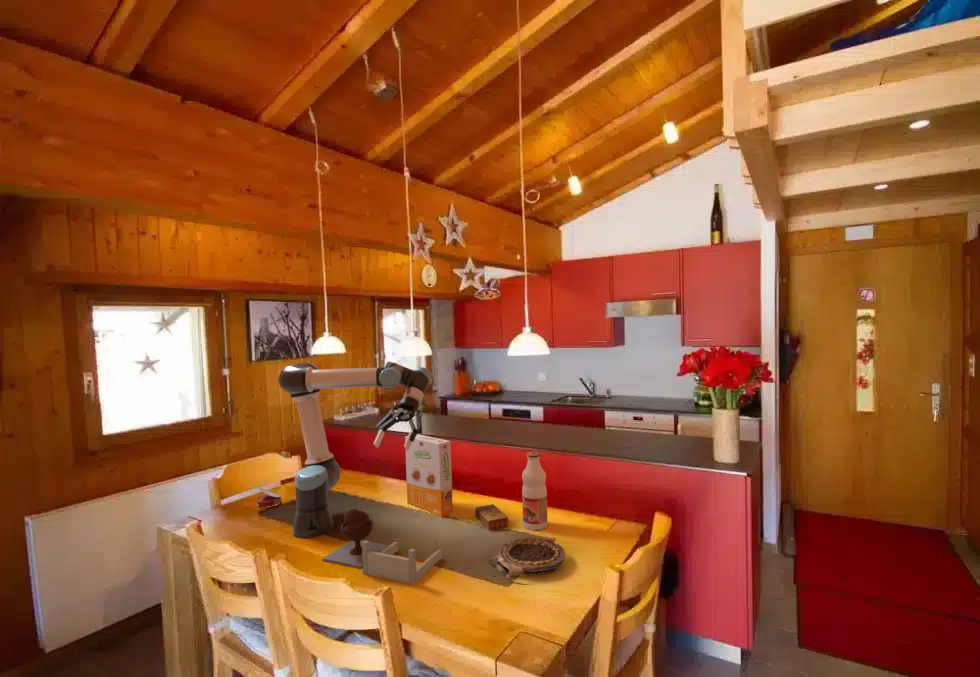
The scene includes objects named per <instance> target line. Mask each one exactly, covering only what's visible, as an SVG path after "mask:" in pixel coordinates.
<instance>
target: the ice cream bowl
mask: <svg viewBox="0 0 980 677" xmlns="http://www.w3.org/2000/svg"><path fill="white" fill-rule="evenodd" d="M343 521H344V522H343V523H341V526H340V528H339V529H340V532H341V534H342V535H343V537H345V538H346V539H348V540H349V541H354V542H355V547H354V548H353V549H351V551H350V554H351V555H361V554H362V546H360V541H361V540H364V539H365V538H367V537H368V536H369V535H370V534H371V532H372V529H373V526H374V520H372V519H370V517H369V515H368V514H367V513H366V512H365V511H363V510H359V509H357V508H351V509H348V510H347V511H346V512H345V513H344V516H343Z"/></svg>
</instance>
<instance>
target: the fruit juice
mask: <svg viewBox="0 0 980 677" xmlns="http://www.w3.org/2000/svg"><path fill="white" fill-rule="evenodd" d="M540 455H541V454H540V452H537V451H528V452H527V453H526V458H527V463H526V467H525V468H524V469H523V471H522V475H521V479H522V483H523V484H522V488H521V489H522V490H521V495H522V496H521V498H522V499H521V500H522V525H523V527H524V528H525V529H527V530H531V531H541V530H544V529H546V528H547V527H548V522H549V521H548V491H547V486H546V479H547V474H546V472H545V470H544V469H543V468H542V465H541V463H540V457H541V456H540Z"/></svg>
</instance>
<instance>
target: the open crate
mask: <svg viewBox="0 0 980 677" xmlns="http://www.w3.org/2000/svg"><path fill="white" fill-rule="evenodd" d="M369 542H370V540H363V542H362V560H363V568H362V574H363V575H369V576H374V577H379V578H383V579H387V580H393V581H395V582H396V581H397V582H402V583H406V584H409V585H413V586H414V585H415V584H416V583H417V582H418V581H419V580H420V579H421V578H422V577H423V576H425V575H426V572H427V571H428V570H429V569H430V568H431V567H432V566H433V565H434V564H435V563H436V564H438V563H439V562H440V561H441V560H442V559H441V558H443V557H442V555H443V554H442V549H440V548H438V549H437V550H435V551H434V553H432V554H431V555H430V556H428V557H427V559H425V560H424V561H423V562H421V563H420V565H418V566H417V555H416V554H417V552H416V549H414V548H410V549H409V550H407V555H408V556H407V557H404V556H399V555H395V554H396V553H398V552H399V542H398V541H394V542H392V543H391V544H389V545H390V546H388V547H387V548H386V549H384V550H383V551H381V552H380V553H378V552H373V551H370V550H369ZM395 552H396V553H395ZM394 553H395V554H394ZM440 559H441V560H440ZM439 560H440V561H439ZM438 561H439V562H438ZM437 562H438V563H437ZM436 564H435V565H436ZM435 565H434V566H435ZM434 566H433V567H434ZM433 567H432V568H433ZM432 568H431V569H432ZM431 569H430V570H431ZM430 570H429V571H430ZM429 571H428V572H429ZM428 572H427V573H428Z"/></svg>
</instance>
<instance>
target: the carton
mask: <svg viewBox="0 0 980 677" xmlns="http://www.w3.org/2000/svg"><path fill="white" fill-rule="evenodd" d="M474 511H475V512H474V516H475V518H476V517H477V518H478V519H479V520H480V521H479V520H478V519H477V518H476V519H477V520H478V521H479V522H480V523H481V524H482V526H484V528H486V529H487V531H489V530H490V531H495V530H500V529H505V528H506V529H507V528H509V517H508V516H507V515H506V514H505V513H504V512H503V511H501V510H500V508H499V507H497V506H496V505H495V504H494V503H492V504H487V505H481V506H476V507H475V508H474Z"/></svg>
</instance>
